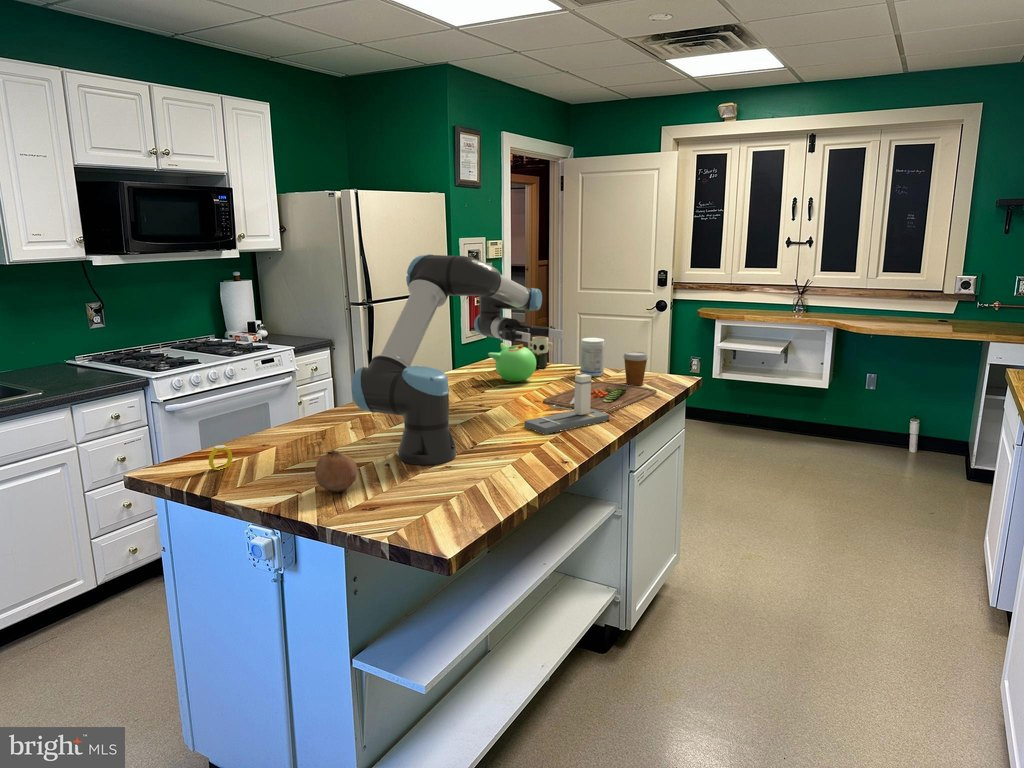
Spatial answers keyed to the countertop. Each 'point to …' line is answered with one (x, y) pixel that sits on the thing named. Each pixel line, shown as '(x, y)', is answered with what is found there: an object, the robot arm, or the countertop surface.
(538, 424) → the fader console
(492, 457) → the countertop surface
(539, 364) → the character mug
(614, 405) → the chopping board
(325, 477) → the onion
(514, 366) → the green rounded body
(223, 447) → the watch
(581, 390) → the fader knob
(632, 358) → the disposable coffee cup
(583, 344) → the supplement tub
